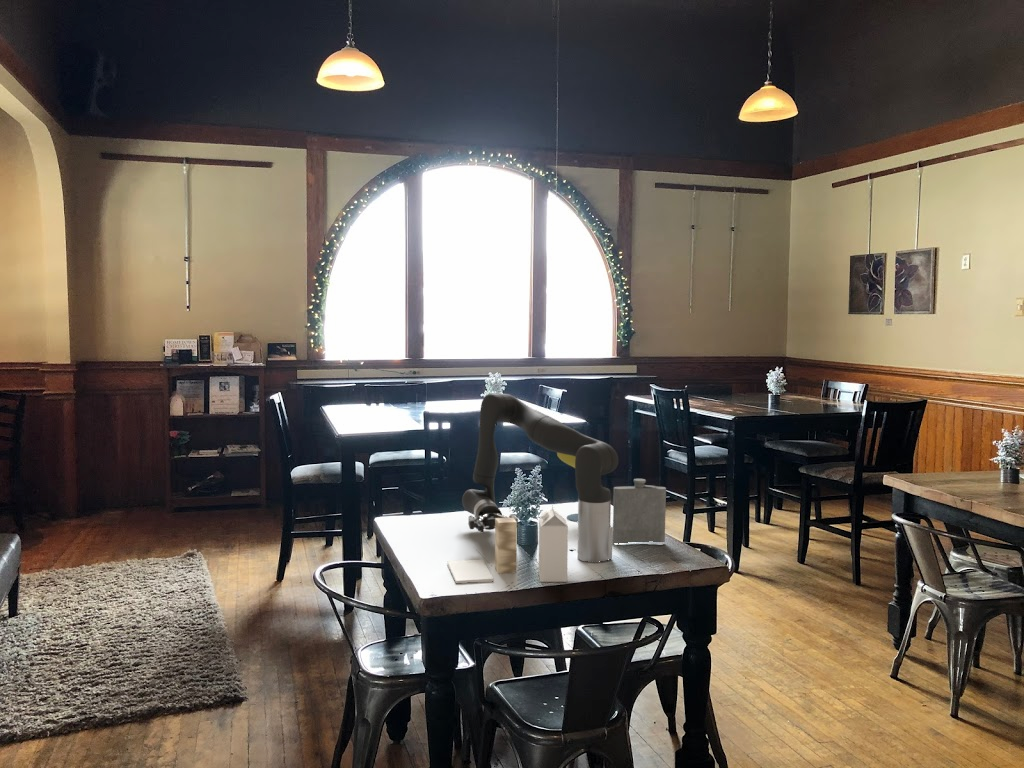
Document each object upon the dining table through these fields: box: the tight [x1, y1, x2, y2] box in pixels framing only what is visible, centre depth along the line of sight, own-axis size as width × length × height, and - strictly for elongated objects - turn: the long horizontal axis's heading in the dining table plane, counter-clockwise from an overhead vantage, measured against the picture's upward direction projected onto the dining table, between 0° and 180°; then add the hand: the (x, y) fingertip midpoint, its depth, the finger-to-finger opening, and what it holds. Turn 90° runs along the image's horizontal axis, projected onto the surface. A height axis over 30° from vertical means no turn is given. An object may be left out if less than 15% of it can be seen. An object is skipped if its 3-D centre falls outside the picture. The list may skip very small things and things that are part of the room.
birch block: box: [494, 517, 518, 574], centre depth 233 cm, size 5×5×14 cm
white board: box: [447, 559, 495, 584], centre depth 231 cm, size 10×17×1 cm, turn 12°
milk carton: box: [538, 504, 569, 583], centre depth 226 cm, size 7×7×19 cm
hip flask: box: [612, 478, 667, 544], centre depth 259 cm, size 16×4×20 cm, turn 92°
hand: (497, 528), depth 244 cm, fingers open, 8 cm apart
